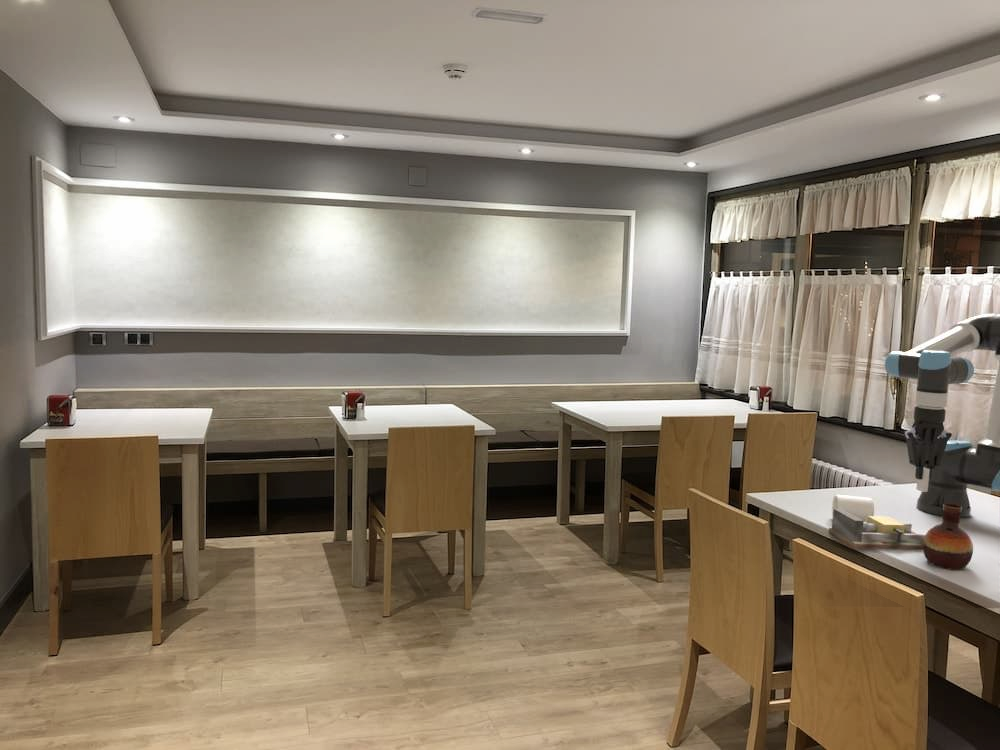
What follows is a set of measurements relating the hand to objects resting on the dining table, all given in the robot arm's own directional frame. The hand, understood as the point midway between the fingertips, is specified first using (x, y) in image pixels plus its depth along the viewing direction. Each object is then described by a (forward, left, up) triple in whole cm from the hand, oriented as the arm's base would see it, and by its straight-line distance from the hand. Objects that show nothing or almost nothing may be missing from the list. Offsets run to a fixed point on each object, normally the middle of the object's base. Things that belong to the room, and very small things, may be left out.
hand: (921, 490), depth 216 cm
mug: (+10, -18, -15) cm, 25 cm away
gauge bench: (+11, +1, -14) cm, 18 cm away
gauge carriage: (+12, +3, -13) cm, 18 cm away
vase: (+5, +19, -15) cm, 24 cm away
